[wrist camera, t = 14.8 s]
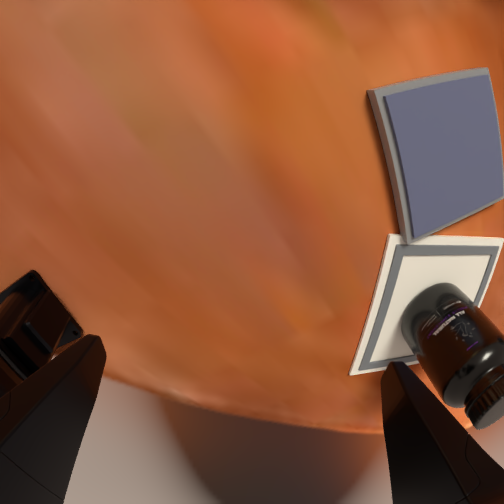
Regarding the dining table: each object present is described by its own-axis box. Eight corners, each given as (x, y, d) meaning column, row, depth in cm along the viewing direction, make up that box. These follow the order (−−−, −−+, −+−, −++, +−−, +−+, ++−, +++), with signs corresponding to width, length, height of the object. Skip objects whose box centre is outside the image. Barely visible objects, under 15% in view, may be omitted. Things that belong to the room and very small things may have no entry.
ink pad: (401, 239, 22) (409, 246, 21) (366, 90, 17) (376, 90, 16) (497, 194, 21) (506, 199, 20) (479, 67, 17) (490, 67, 15)
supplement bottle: (423, 272, 23) (515, 371, 13) (468, 286, 25) (548, 368, 14) (384, 338, 26) (448, 446, 15) (433, 344, 28) (494, 431, 17)
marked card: (348, 373, 28) (350, 376, 27) (388, 233, 22) (391, 236, 21) (456, 352, 30) (458, 355, 29) (502, 237, 24) (505, 240, 23)
